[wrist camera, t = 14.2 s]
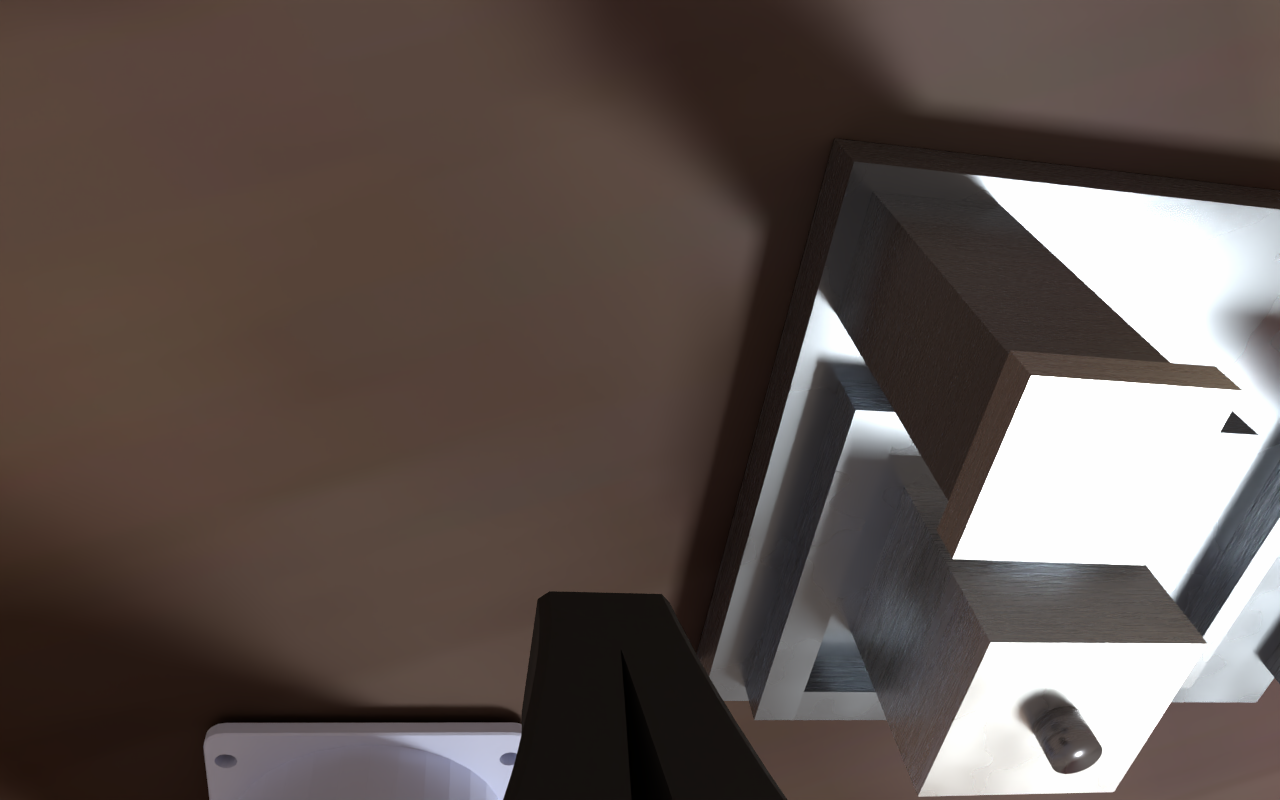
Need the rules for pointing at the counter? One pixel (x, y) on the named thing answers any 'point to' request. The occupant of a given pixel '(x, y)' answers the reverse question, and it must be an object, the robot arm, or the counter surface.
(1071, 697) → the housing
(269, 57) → the counter surface
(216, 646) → the counter surface
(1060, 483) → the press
